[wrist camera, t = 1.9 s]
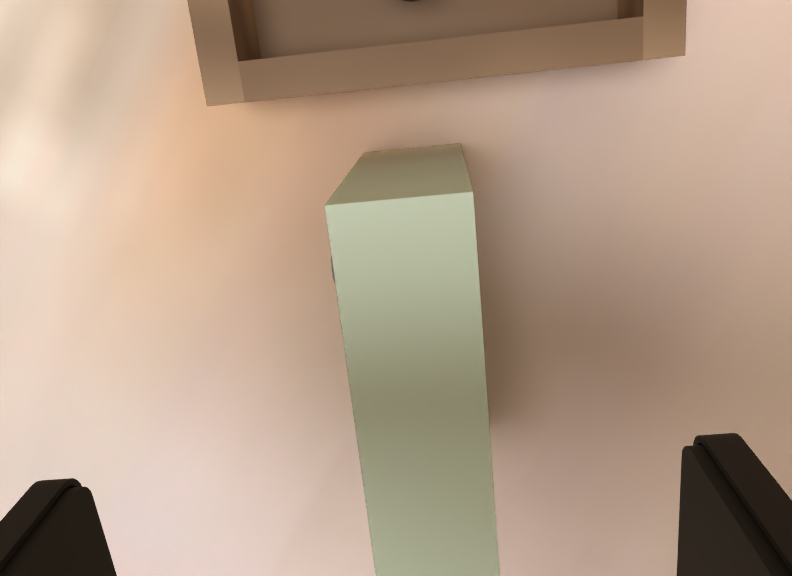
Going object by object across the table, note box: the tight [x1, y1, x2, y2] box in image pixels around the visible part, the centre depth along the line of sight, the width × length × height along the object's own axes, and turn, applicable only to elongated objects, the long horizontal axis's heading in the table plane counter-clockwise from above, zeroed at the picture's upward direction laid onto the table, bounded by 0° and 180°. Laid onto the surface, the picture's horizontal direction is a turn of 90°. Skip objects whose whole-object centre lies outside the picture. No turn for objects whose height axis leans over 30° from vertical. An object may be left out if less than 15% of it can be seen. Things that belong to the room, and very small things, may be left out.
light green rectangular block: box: [325, 143, 500, 576], centre depth 19 cm, size 10×3×8 cm, turn 6°
